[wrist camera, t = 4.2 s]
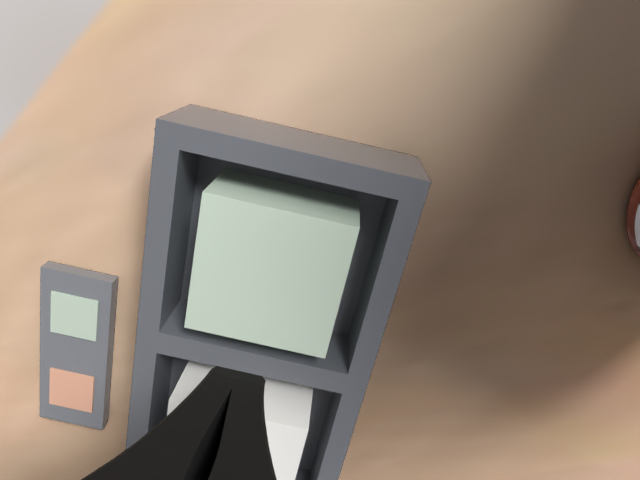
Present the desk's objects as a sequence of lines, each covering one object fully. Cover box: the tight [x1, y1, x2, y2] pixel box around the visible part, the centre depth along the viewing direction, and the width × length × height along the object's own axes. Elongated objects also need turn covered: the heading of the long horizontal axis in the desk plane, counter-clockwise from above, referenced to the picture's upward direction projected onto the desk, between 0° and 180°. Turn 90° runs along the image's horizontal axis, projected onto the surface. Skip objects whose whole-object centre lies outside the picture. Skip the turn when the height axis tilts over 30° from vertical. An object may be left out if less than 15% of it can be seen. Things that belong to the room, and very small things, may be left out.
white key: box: [167, 360, 313, 480], centre depth 20 cm, size 5×5×3 cm
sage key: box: [184, 169, 360, 359], centre depth 18 cm, size 5×5×3 cm
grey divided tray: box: [126, 104, 431, 480], centre depth 22 cm, size 9×24×4 cm, turn 168°
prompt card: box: [40, 261, 118, 430], centre depth 23 cm, size 3×8×1 cm, turn 168°
